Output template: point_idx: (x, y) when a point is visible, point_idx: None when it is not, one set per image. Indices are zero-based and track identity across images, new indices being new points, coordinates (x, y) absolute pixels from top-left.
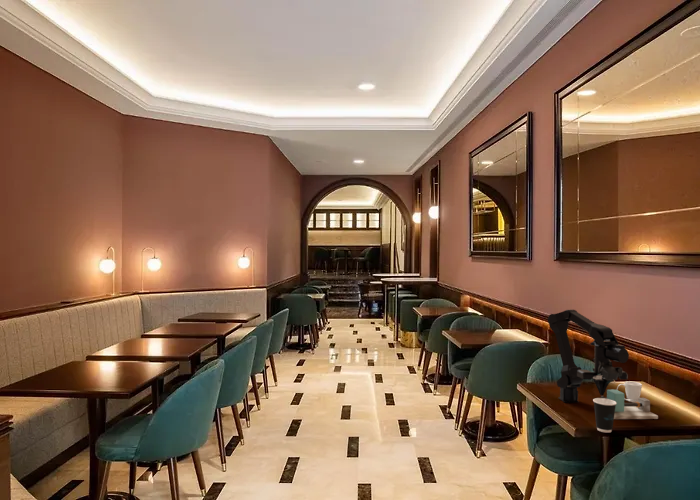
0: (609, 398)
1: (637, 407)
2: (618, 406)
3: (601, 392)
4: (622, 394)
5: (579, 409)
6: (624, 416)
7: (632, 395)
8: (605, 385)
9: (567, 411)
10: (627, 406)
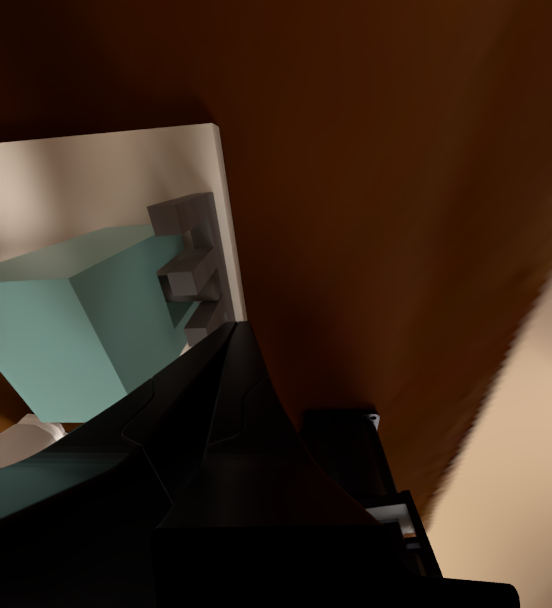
0: (164, 330)
1: None
2: (126, 232)
3: (248, 335)
4: None
5: (362, 324)
6: (126, 132)
7: (16, 445)
8: (146, 415)
9: (469, 289)
10: None
